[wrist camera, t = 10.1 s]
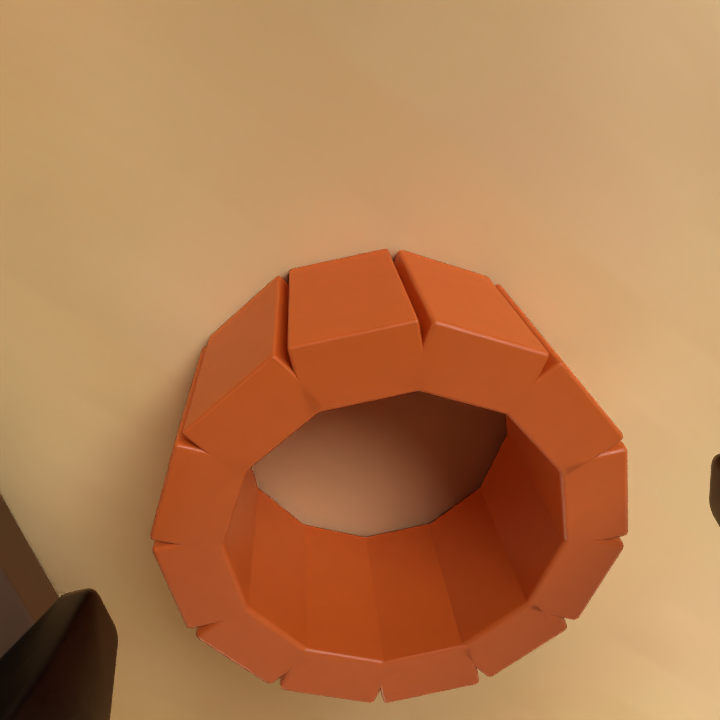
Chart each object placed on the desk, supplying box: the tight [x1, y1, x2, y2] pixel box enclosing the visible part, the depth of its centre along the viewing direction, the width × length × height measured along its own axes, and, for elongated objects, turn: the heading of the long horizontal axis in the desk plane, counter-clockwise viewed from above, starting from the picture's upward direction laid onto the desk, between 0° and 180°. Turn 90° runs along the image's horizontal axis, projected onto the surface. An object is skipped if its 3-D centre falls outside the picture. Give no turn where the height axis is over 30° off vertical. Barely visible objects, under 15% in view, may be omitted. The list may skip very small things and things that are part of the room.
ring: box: [151, 249, 628, 703], centre depth 11 cm, size 7×7×3 cm
